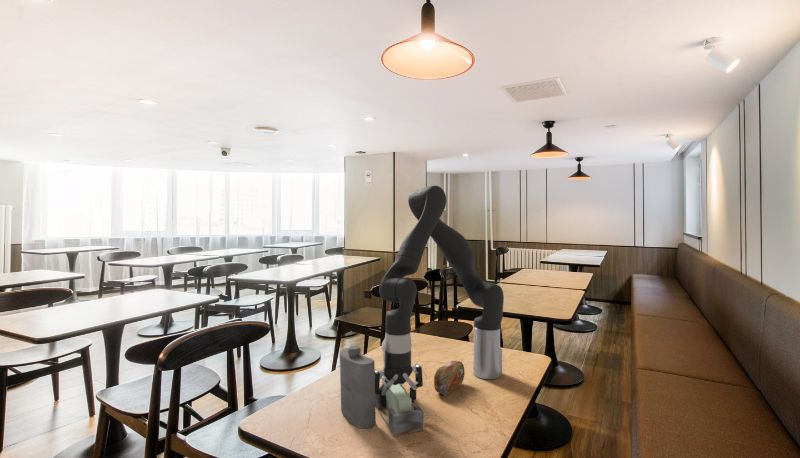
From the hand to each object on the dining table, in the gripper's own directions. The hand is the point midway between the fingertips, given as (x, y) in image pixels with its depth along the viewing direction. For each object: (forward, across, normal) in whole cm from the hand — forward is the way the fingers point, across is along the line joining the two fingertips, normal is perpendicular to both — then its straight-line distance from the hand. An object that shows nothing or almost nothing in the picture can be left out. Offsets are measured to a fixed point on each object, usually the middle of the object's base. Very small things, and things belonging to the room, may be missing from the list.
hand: (397, 404), depth 109 cm
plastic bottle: (+4, -4, -17) cm, 18 cm away
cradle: (+4, 0, 0) cm, 4 cm away
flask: (+4, +11, -4) cm, 12 cm away
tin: (+4, -22, -11) cm, 25 cm away
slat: (+3, 0, 0) cm, 3 cm away
